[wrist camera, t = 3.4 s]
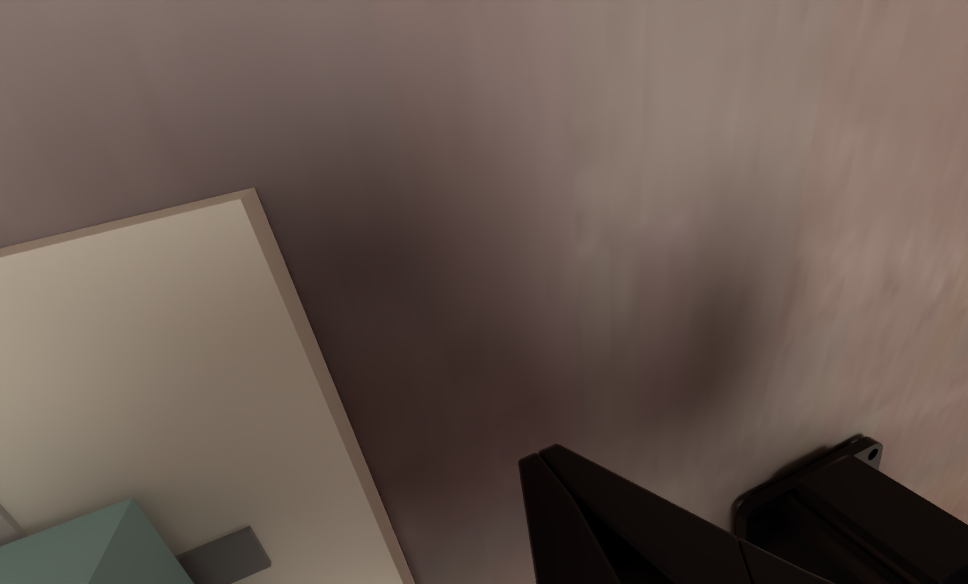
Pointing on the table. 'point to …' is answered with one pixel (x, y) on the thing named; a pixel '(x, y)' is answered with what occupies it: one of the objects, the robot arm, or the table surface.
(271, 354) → the fader panel
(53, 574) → the fader tab
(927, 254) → the table surface
